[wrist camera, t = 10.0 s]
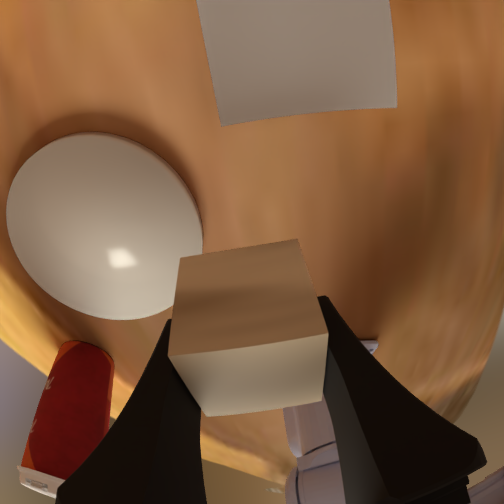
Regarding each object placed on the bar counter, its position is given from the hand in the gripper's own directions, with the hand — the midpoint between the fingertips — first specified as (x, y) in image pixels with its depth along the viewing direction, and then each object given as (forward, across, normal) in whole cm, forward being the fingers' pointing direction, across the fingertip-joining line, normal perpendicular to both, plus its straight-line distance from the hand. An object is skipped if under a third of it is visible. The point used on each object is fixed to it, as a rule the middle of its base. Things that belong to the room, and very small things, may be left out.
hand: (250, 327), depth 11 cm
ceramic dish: (+8, +9, 0) cm, 12 cm away
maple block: (+2, 0, 0) cm, 2 cm away
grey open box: (+8, -3, -9) cm, 13 cm away
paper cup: (+9, +16, +13) cm, 22 cm away
